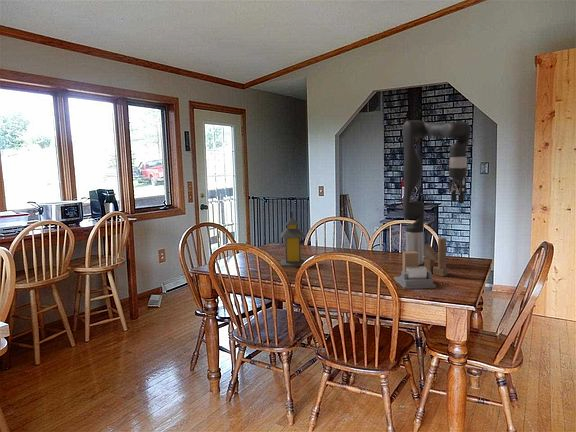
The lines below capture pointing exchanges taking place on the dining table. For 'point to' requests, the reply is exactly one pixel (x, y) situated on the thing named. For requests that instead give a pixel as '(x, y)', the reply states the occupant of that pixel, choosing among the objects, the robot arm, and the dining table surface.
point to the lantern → (292, 243)
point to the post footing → (412, 261)
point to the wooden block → (436, 258)
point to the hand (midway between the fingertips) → (457, 202)
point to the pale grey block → (416, 272)
